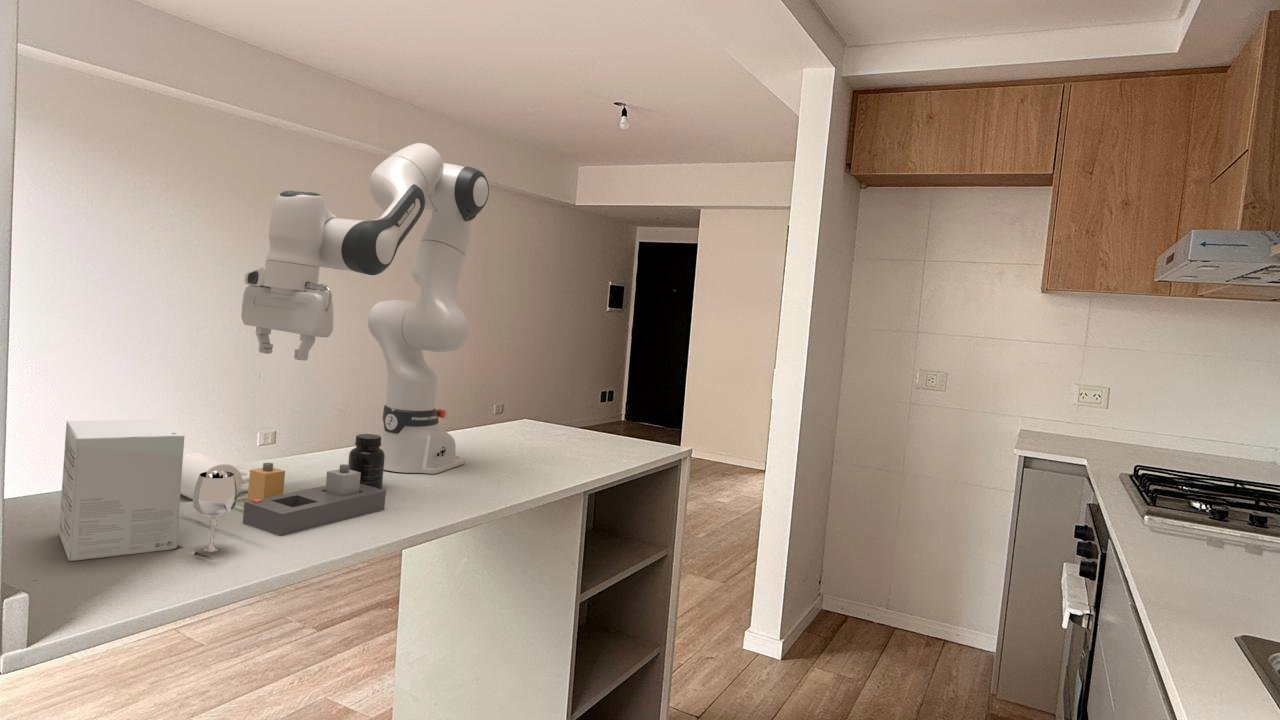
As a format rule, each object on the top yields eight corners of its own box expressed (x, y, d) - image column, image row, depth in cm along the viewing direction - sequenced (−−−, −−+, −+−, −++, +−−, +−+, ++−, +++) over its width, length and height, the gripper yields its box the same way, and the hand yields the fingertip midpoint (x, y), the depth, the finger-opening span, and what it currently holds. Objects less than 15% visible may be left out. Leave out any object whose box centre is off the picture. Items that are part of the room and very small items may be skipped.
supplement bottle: (339, 492, 153) (344, 433, 152) (371, 488, 158) (376, 431, 157) (355, 500, 148) (360, 440, 147) (387, 497, 153) (393, 438, 152)
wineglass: (204, 544, 116) (209, 468, 116) (240, 549, 116) (246, 472, 115) (180, 557, 111) (186, 476, 110) (218, 562, 110) (224, 481, 110)
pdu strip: (348, 506, 144) (350, 479, 143) (383, 517, 140) (386, 489, 139) (242, 531, 124) (244, 500, 124) (279, 544, 120) (282, 512, 120)
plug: (267, 504, 137) (270, 460, 137) (282, 509, 136) (285, 464, 135) (246, 508, 134) (250, 463, 133) (262, 513, 132) (265, 467, 132)
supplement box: (159, 524, 123) (167, 418, 122) (178, 549, 113) (186, 434, 112) (57, 534, 114) (64, 419, 113) (67, 562, 104) (75, 437, 103)
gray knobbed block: (341, 505, 139) (345, 461, 138) (357, 510, 137) (361, 466, 136) (323, 509, 135) (327, 464, 135) (339, 514, 133) (343, 469, 133)
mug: (195, 511, 131) (198, 466, 131) (167, 498, 137) (170, 454, 136) (262, 500, 141) (265, 459, 141) (233, 488, 147) (236, 448, 146)
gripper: (346, 287, 134) (337, 364, 135) (269, 277, 144) (261, 350, 144) (317, 283, 129) (308, 363, 129) (238, 273, 138) (230, 349, 138)
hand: (282, 356), depth 137 cm, fingers open, 8 cm apart
